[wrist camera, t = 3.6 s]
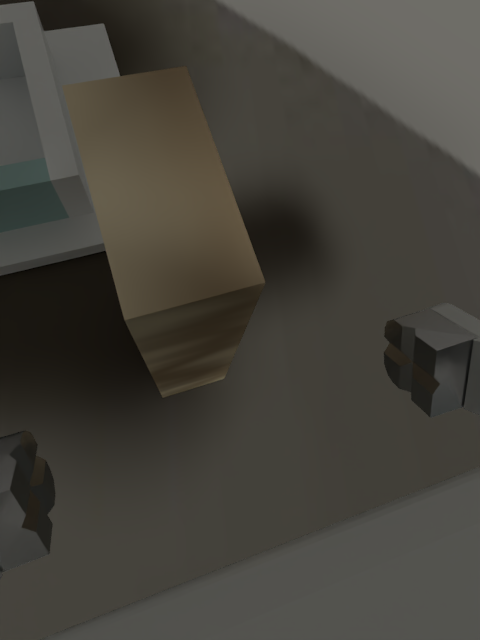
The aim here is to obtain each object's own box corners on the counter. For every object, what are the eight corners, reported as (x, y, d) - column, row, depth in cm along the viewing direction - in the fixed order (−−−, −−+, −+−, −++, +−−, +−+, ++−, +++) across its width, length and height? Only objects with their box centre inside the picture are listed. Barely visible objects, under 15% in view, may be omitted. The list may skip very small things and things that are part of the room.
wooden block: (162, 397, 20) (124, 320, 8) (130, 282, 21) (61, 85, 10) (224, 378, 20) (265, 282, 9) (188, 267, 22) (186, 65, 11)
